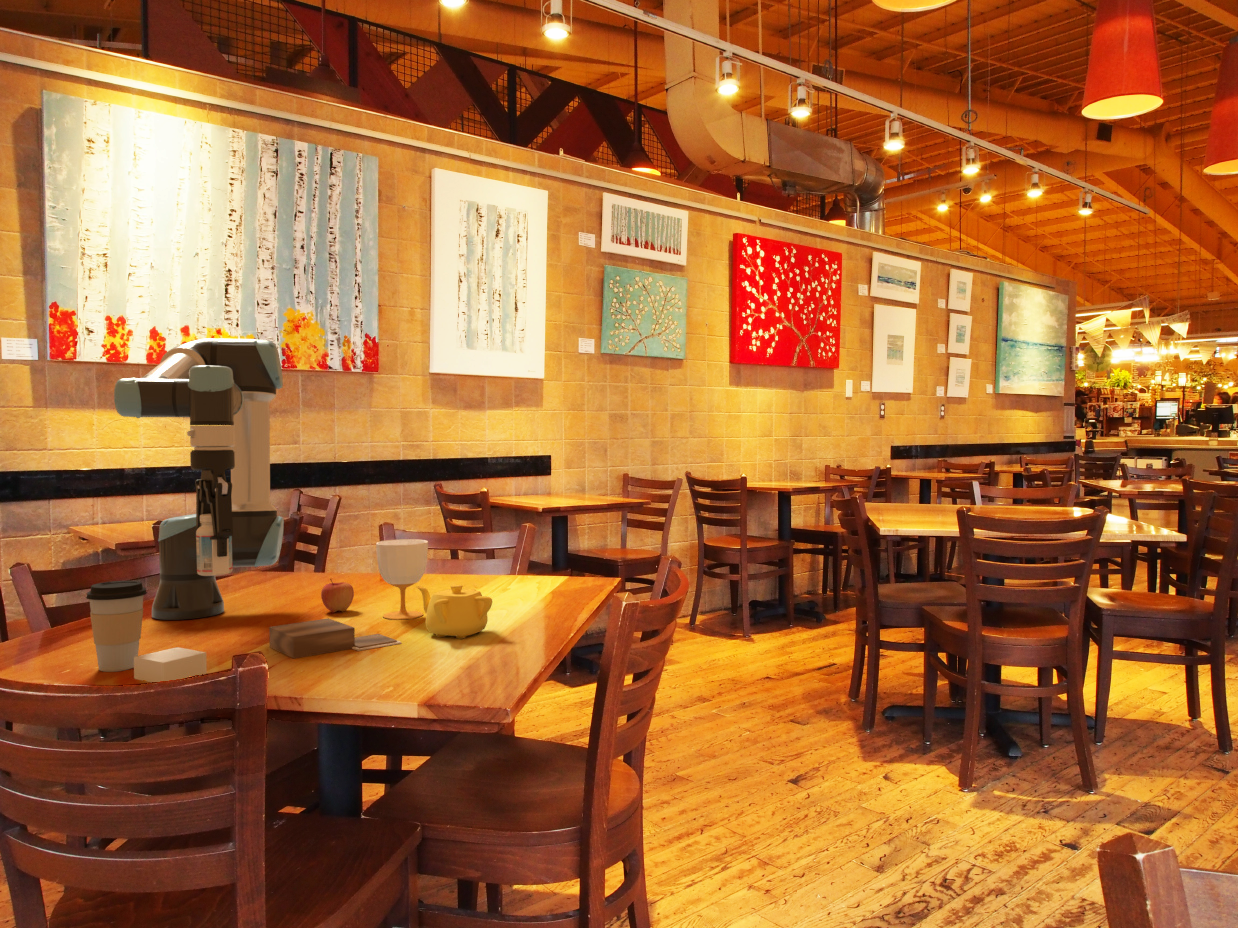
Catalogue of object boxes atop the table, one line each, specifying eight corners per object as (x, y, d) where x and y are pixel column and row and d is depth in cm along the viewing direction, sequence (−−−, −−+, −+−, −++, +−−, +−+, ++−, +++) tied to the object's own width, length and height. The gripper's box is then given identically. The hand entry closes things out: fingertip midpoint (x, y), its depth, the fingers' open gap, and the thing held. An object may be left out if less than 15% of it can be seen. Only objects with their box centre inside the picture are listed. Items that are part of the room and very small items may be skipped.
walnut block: (269, 647, 171) (269, 626, 171) (328, 637, 179) (328, 618, 179) (293, 658, 162) (293, 636, 162) (354, 647, 170) (354, 627, 170)
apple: (358, 612, 205) (357, 578, 205) (326, 615, 201) (326, 581, 201) (348, 607, 212) (348, 574, 211) (317, 610, 207) (317, 577, 207)
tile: (337, 642, 175) (337, 639, 175) (380, 635, 181) (379, 632, 181) (357, 650, 168) (357, 647, 168) (401, 643, 174) (401, 640, 174)
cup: (365, 618, 198) (365, 543, 198) (397, 609, 209) (396, 538, 208) (409, 622, 194) (408, 546, 193) (439, 612, 204) (438, 540, 204)
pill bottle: (239, 572, 166) (238, 513, 166) (215, 577, 160) (214, 516, 160) (214, 570, 168) (213, 512, 168) (189, 575, 162) (188, 515, 162)
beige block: (134, 680, 149) (133, 656, 149) (177, 669, 156) (177, 647, 156) (163, 686, 145) (163, 662, 145) (206, 675, 152) (206, 652, 152)
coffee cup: (104, 661, 160) (102, 580, 160) (157, 660, 161) (156, 579, 161) (76, 675, 151) (74, 588, 151) (133, 673, 152) (132, 588, 151)
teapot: (426, 643, 174) (425, 592, 174) (416, 630, 186) (415, 582, 185) (493, 637, 179) (493, 588, 179) (479, 625, 191) (479, 578, 191)
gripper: (176, 448, 168) (178, 567, 169) (207, 450, 154) (209, 580, 155) (217, 447, 173) (219, 563, 174) (251, 449, 159) (253, 575, 160)
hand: (214, 571), depth 164 cm, fingers closed on pill bottle, 6 cm apart
